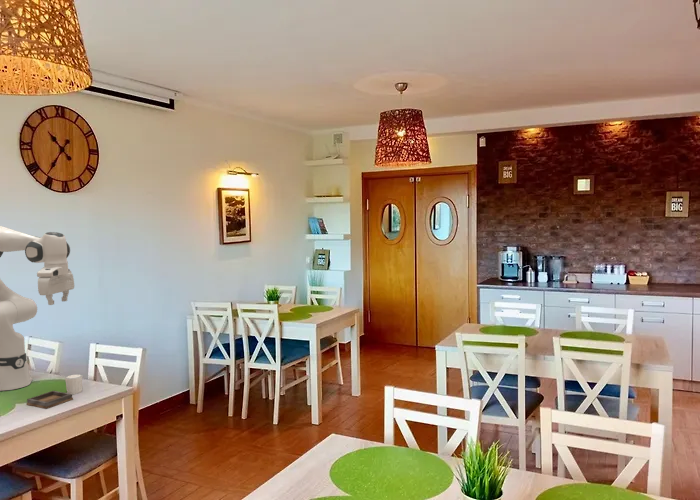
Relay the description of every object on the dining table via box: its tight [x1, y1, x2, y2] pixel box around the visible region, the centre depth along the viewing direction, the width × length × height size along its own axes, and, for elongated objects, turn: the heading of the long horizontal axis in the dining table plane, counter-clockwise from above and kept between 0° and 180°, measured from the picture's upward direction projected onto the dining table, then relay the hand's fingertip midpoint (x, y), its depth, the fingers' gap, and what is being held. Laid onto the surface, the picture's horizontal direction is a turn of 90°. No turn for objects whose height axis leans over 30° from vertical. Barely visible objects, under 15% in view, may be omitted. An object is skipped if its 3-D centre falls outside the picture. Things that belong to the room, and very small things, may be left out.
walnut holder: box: [26, 390, 74, 410], centre depth 225 cm, size 12×12×2 cm
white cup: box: [64, 373, 83, 395], centre depth 237 cm, size 7×7×7 cm
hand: (58, 303), depth 232 cm, fingers open, 8 cm apart
